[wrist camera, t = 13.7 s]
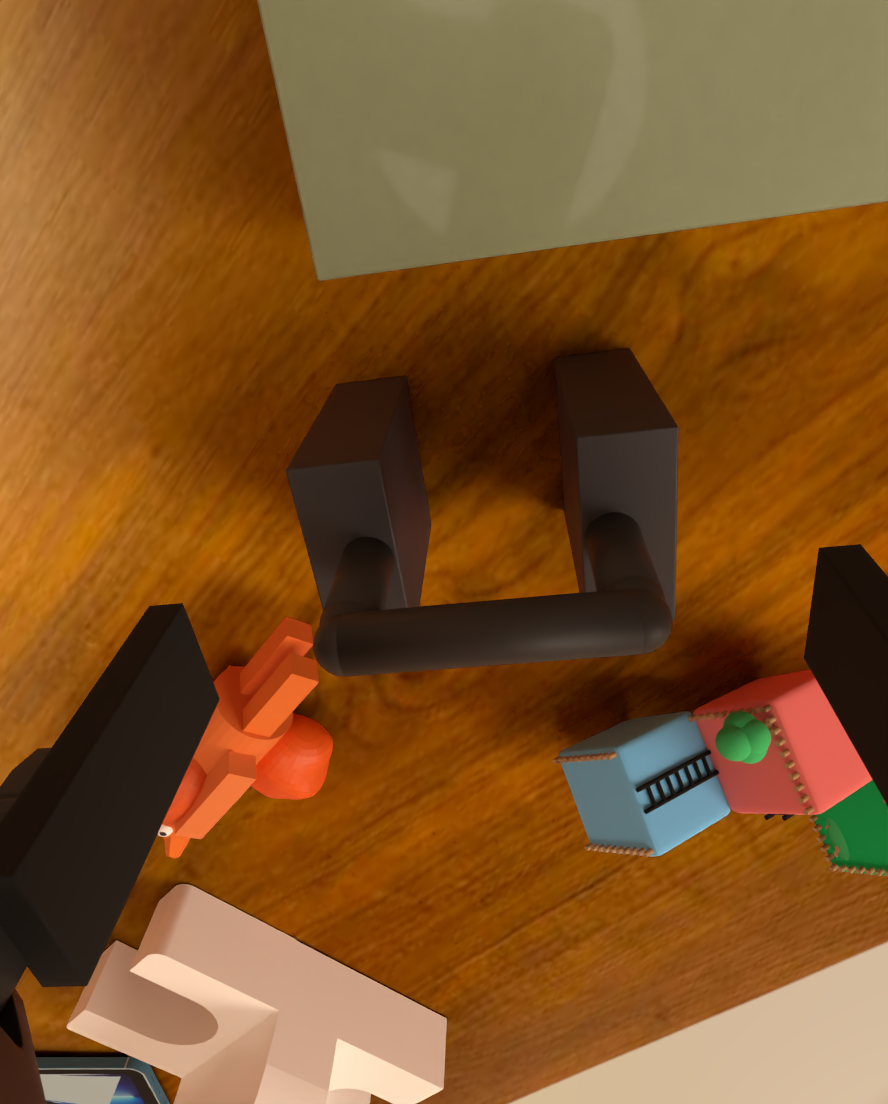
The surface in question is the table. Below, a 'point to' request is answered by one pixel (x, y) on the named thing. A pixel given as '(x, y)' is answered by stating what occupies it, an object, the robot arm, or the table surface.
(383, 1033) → the white thick notched block
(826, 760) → the building blocks
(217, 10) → the table surface
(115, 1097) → the smartphone
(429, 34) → the shelf
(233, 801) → the orange toy bird
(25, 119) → the table surface
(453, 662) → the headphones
